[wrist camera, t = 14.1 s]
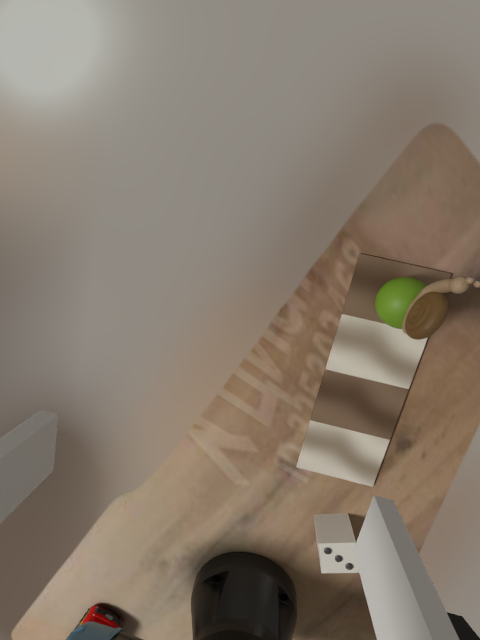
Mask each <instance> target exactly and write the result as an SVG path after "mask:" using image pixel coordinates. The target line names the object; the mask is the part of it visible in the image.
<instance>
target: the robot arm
mask: <svg viewBox="0 0 480 640" xmlns="http://www.w3.org/2000/svg"><path fill="white" fill-rule="evenodd" d="M57 423H58V414H55V413H51V412H48V411H44V410H40V411H38V412H37V413H36V414H34V415H33V416H31V417H30V418H28V419H27V420H26V421H24V422H23V423H21V424H20V425H18V426H17V427H15V428H14V429H13V430H11V431H10V432H8V433H7V434H6V435H4V436H3V437H1V438H0V524H1V523H2V522H3V521H4V520H5V519H6V518H7V517H8V516H9V515H10V514H11V513H12V511H13V510H15V509H16V508H17V506H18V505H20V504H21V502H22V501H23V500H24V499H25V498H26V497H27V496H28V495H29V494H30V493H31V492H32V491H33V490H34V489H35V488H36V487H37V486H38V485H39V484H40V483H41V482H42V481H43V480H44V479H45V478H46V477H47V476H48V475H49V474H50V473H51V472H52V471H53V467H54V457H55V446H56V435H57ZM353 551H354V555H355V558H356V562H357V566H358V570H359V574H360V577H361V581H362V585H363V589H364V593H365V596H366V600H367V604H368V608H369V611H370V615H371V619H372V623H373V627H374V630H375V634H376V638H377V640H480V638H479V637H478V636H477V635H476V633H475V632H474V631H473V630H472V628H471V627H470V626H469V625H468V623H467V622H466V621H465V620H464V618H463V617H462V616H458V615H455V614H451V613H447V612H446V611H445V608H444V606H443V604H442V602H441V600H440V598H439V596H438V593H437V591H436V589H435V587H434V585H433V583H432V581H431V579H430V577H429V575H428V573H427V570H426V568H425V566H424V564H423V562H422V560H421V558H420V556H419V553H418V551H417V549H416V547H415V545H414V543H413V541H412V539H411V537H410V534H409V532H408V530H407V528H406V526H405V524H404V522H403V520H402V518H401V516H400V513H399V511H398V509H397V507H396V505H395V503H394V501H393V500H390V499H387V498H383V497H379V496H375V495H374V496H373V499H372V501H371V504H370V507H369V510H368V512H367V515H366V518H365V520H364V523H363V526H362V528H361V531H360V534H359V536H358V539H357V542H356V544H355V547H354V550H353ZM191 613H192V630H193V640H292V636H293V632H294V628H295V623H296V617H297V605H296V593H295V589H294V586H293V583H292V581H291V580H290V578H289V577H288V575H287V574H286V573H285V572H284V571H283V570H282V569H281V568H280V567H279V566H278V565H276V564H275V563H273V562H272V561H270V560H268V559H266V558H264V557H261V556H258V555H254V554H250V553H228V554H223V555H220V556H217V557H215V558H213V559H211V560H210V561H208V562H207V563H206V564H205V565H204V566H203V567H202V568H201V569H200V571H199V572H198V574H197V576H196V579H195V583H194V587H193V592H192V597H191ZM66 640H143V639H140V638H138V637H135V636H133V635H130V634H128V633H126V632H123V629H122V628H120V627H118V628H116V629H115V628H112V627H109V626H106V625H103V624H100V623H96V622H86V623H84V624H81V625H80V626H78V627H77V628H76V629H75V630H74V631H73V632H72V633H71V634H70V635H69V636H68V637H67V639H66Z"/></svg>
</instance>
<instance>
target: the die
mask: <svg viewBox="0 0 480 640" xmlns="http://www.w3.org/2000/svg"><path fill="white" fill-rule="evenodd" d="M314 520H315V529H316V538H317V546H318V553H319V560H320V566H321V573H359V572H358V566H357V562H356V558H355V555H354V551H353V550H354V547H355V544H356V540H355V537H354V533H353V530H352V526H351V523H350V519H349V515H348V513H343V514H317V515H314Z"/></svg>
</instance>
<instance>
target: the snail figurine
mask: <svg viewBox="0 0 480 640" xmlns="http://www.w3.org/2000/svg"><path fill="white" fill-rule="evenodd" d="M472 283H474V286H475V287H477V288H479V287H480V281H475V282H474V278H472V277H468V278H466V277H455V278H454V279H444V280H440V281H436V282H434V283H431V284H429V285H428V286H426V285H425V284H424V283H423V282H421V281H419V280H417V279H415V278H411V277H399V278H395V279H392V280H390V281H388V282H387V283H385V284H384V285H383V286H382V287H381V288H380V290H379V291H378V293H377V296H376V299H375V308H376V312H377V314H378V316H379V317H380V319H381V320H382V321H383V322H384V323H386V324H387V325H389V326H391V327H393V328H397V329H403V332H404V333H407V335H408V336H409V337H410V338H412V339H416V340H420V339H424V338H427V337H429V336H430V335H432V334H433V333H434V332H435V331H436V330H437V329H438V328H439V327H440V326H441V325H442V323H443V321H444V320H445V318H446V315H447V312H448V308H449V303H448V300H447V298H446V296H445V295H443V293H448V292H453V293H455V294H460V293H463V292H465V291H466V290H467V289H468V288H469V284H472Z"/></svg>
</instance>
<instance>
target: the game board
mask: <svg viewBox="0 0 480 640" xmlns="http://www.w3.org/2000/svg"><path fill="white" fill-rule="evenodd" d="M450 276H451V273H446V272H442V271H437V270H433V269H428V268H424V267H419V266H414V265H410V264H405V263H401V262H396V261H392V260H387V259H383V258H378V257H374V256H369V255H364V254H360V255H359V258H358V261H357V265H356V268H355V272H354V275H353V278H352V282H351V285H350V288H349V292H348V295H347V298H346V302H345V305H344V308H343V312H342V315H341V319H340V322H339V325H338V329H337V332H336V335H335V339H334V342H333V345H332V349H331V352H330V355H329V359H328V362H327V365H326V369H325V372H324V376H323V379H322V382H321V386H320V389H319V392H318V396H317V399H316V402H315V406H314V409H313V412H312V416H311V419H310V423H309V426H308V429H307V433H306V436H305V439H304V443H303V446H302V449H301V453H300V456H299V459H298V463H297V468H301V469H305V470H309V471H313V472H317V473H321V474H325V475H329V476H333V477H337V478H340V479H344V480H348V481H352V482H356V483H360V484H364V485H368V486H372V487H373V485H374V482H375V479H376V477H377V474H378V471H379V468H380V466H381V463H382V460H383V458H384V455H385V452H386V450H387V447H388V444H389V441H390V439H391V436H392V433H393V431H394V428H395V425H396V423H397V420H398V417H399V414H400V412H401V409H402V406H403V404H404V401H405V398H406V395H407V393H408V390H409V387H410V385H411V382H412V379H413V377H414V374H415V371H416V368H417V366H418V363H419V360H420V358H421V355H422V352H423V349H424V347H425V344H426V341H427V339H428V337H427V338H424V339H420V340H416V339H412V338H410V337H409V336H408V335H407V333H404V332H403V329H397V328H393V327H391V326H389V325H387V324H386V323H384V322H383V321H382V320H381V319H380V317H379V316H378V314H377V312H376V308H375V299H376V296H377V293H378V291H379V290H380V288H381V287H382V286H383V285H384V284H385V283H387V282H388V281H390V280H392V279H395V278H399V277H411V278H415V279H417V280H419V281H421V282H423V283H424V284H425V285H426V286H428V285H429V284H431V283H434V282H436V281H440V280H444V279H450ZM443 295H444V293H443Z"/></svg>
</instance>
